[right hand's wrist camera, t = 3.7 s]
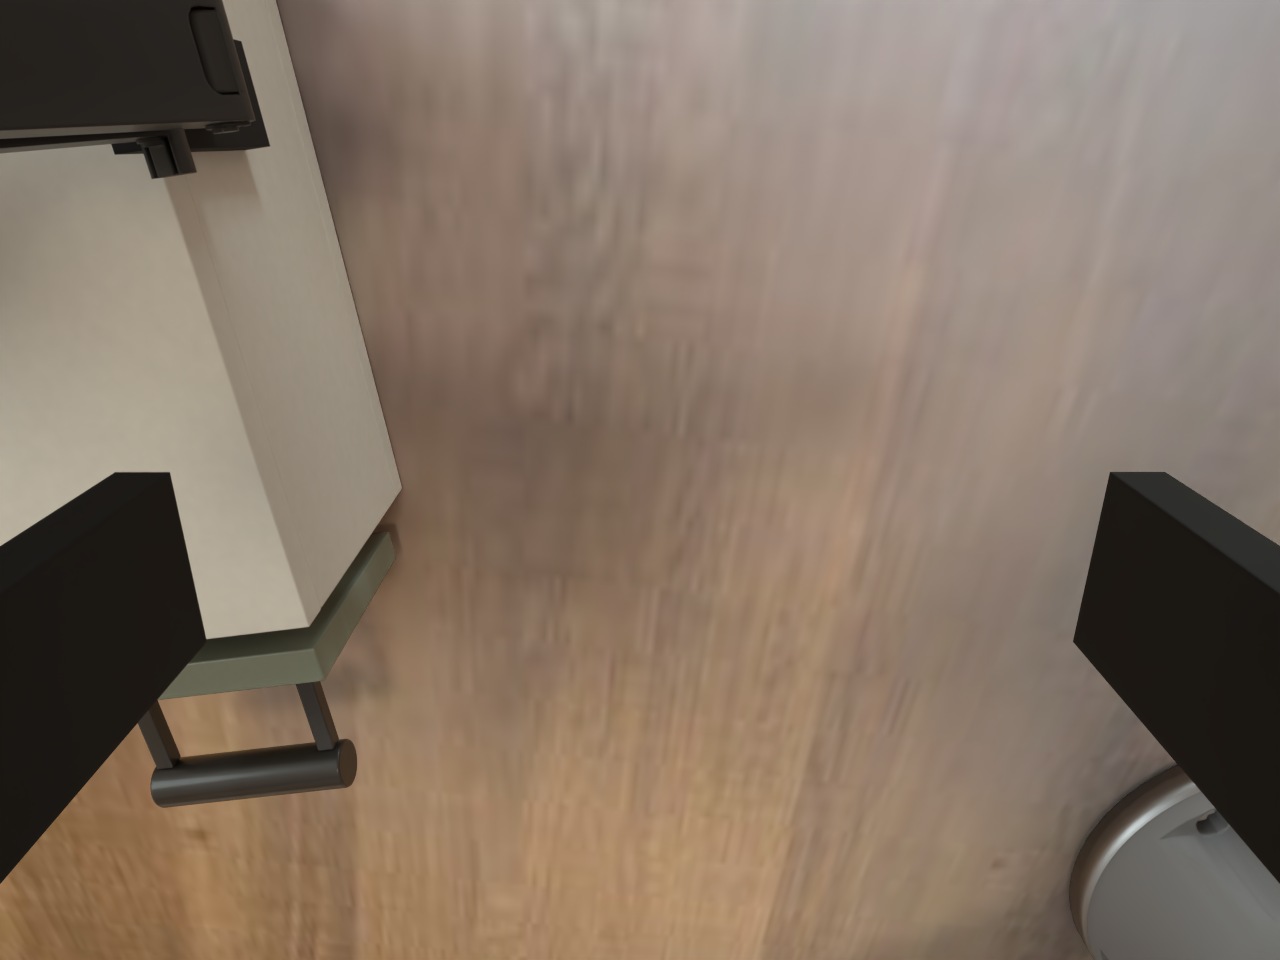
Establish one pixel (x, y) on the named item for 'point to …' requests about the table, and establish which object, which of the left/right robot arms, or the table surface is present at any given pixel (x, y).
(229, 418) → the cabinet
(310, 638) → the drawer
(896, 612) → the table surface
